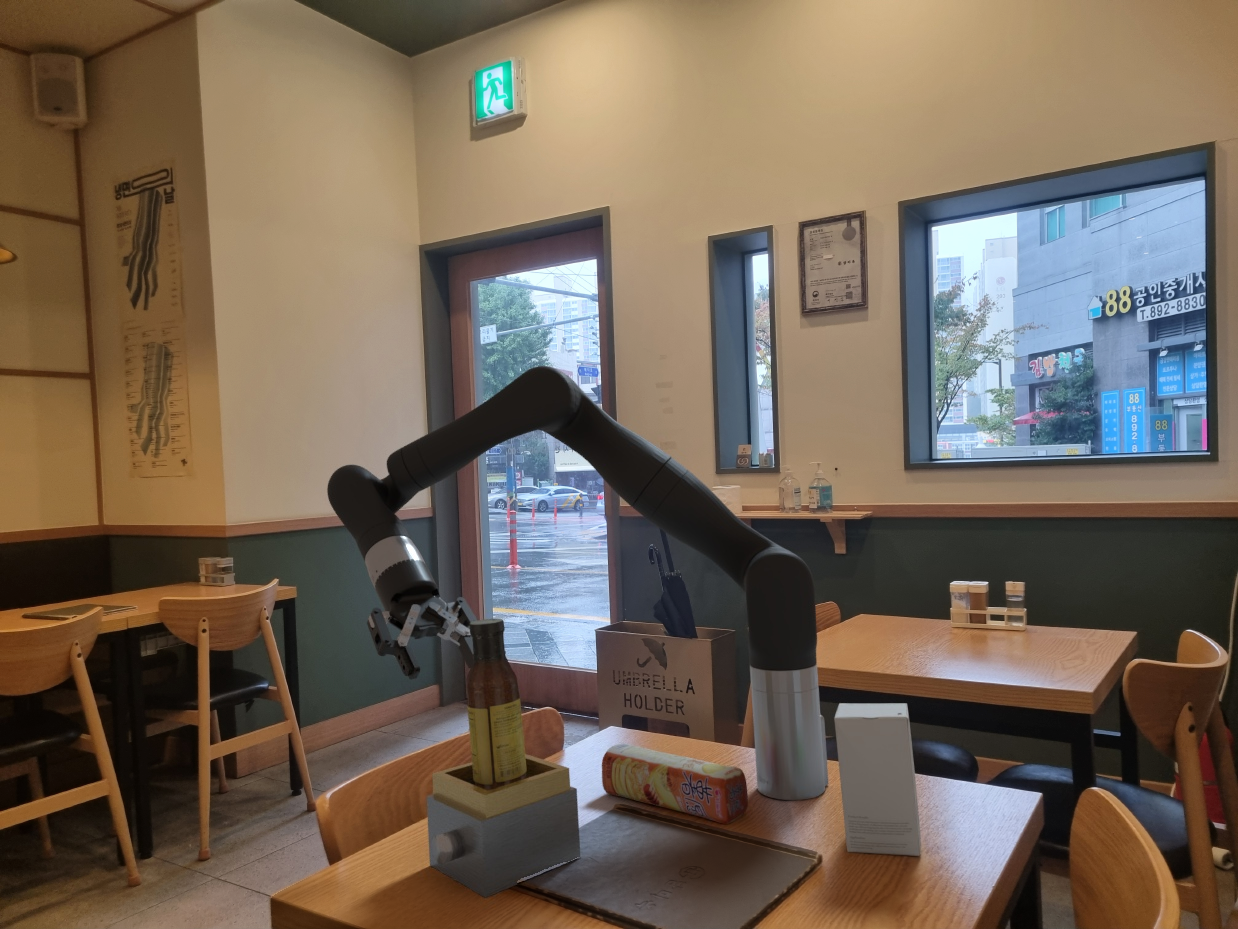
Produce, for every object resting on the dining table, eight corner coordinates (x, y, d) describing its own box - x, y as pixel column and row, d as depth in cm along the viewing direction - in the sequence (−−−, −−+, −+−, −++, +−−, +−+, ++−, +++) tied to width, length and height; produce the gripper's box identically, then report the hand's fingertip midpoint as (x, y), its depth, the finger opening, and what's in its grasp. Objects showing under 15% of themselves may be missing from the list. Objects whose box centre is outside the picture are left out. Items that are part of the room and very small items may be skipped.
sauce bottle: (532, 780, 101) (523, 615, 102) (521, 799, 95) (511, 623, 96) (479, 781, 102) (471, 617, 103) (464, 800, 96) (456, 625, 97)
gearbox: (521, 831, 107) (517, 748, 107) (580, 858, 98) (575, 767, 98) (414, 871, 97) (410, 779, 98) (469, 904, 88) (464, 803, 89)
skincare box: (920, 836, 99) (911, 702, 99) (921, 860, 92) (911, 717, 93) (847, 830, 101) (838, 700, 102) (843, 853, 95) (833, 714, 96)
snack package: (753, 813, 109) (750, 760, 110) (724, 830, 104) (721, 775, 105) (629, 784, 123) (626, 737, 124) (599, 798, 118) (596, 749, 119)
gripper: (359, 562, 110) (404, 660, 101) (455, 553, 119) (503, 642, 110) (343, 600, 113) (385, 698, 104) (437, 589, 123) (483, 678, 114)
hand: (446, 669), depth 107 cm, fingers open, 8 cm apart
